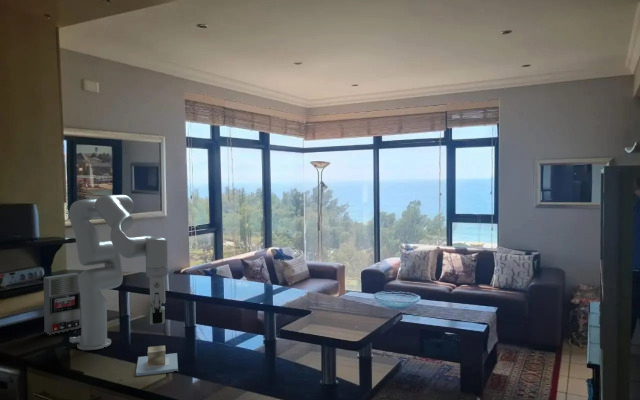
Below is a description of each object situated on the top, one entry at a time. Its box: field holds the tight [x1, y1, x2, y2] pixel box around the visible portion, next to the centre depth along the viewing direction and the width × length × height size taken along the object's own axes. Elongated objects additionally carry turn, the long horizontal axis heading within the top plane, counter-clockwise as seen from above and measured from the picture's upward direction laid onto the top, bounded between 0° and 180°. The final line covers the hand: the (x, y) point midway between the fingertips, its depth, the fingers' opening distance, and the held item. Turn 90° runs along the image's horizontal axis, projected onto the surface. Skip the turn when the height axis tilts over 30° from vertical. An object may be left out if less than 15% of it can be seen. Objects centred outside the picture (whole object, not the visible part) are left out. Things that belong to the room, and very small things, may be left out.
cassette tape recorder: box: [43, 272, 81, 336], centre depth 214 cm, size 14×6×25 cm, turn 141°
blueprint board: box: [135, 352, 179, 377], centre depth 175 cm, size 14×16×1 cm
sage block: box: [149, 305, 166, 325], centre depth 174 cm, size 5×5×5 cm
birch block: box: [147, 345, 166, 366], centre depth 175 cm, size 6×6×5 cm
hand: (157, 320), depth 174 cm, fingers closed on sage block, 4 cm apart
